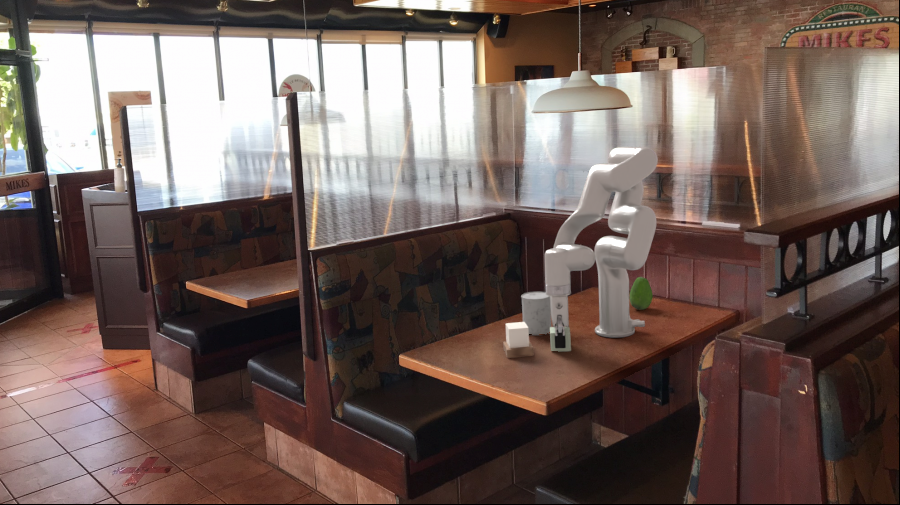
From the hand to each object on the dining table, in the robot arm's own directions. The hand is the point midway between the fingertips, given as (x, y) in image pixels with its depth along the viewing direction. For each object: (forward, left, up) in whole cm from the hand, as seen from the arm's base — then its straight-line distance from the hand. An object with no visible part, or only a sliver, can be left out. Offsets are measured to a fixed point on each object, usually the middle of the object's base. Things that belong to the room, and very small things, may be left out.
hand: (559, 342), depth 224 cm
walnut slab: (+13, +3, -2) cm, 13 cm away
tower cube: (+13, +2, +1) cm, 13 cm away
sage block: (0, 0, -2) cm, 2 cm away
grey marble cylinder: (+7, -18, -2) cm, 20 cm away
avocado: (-30, -39, -2) cm, 50 cm away
